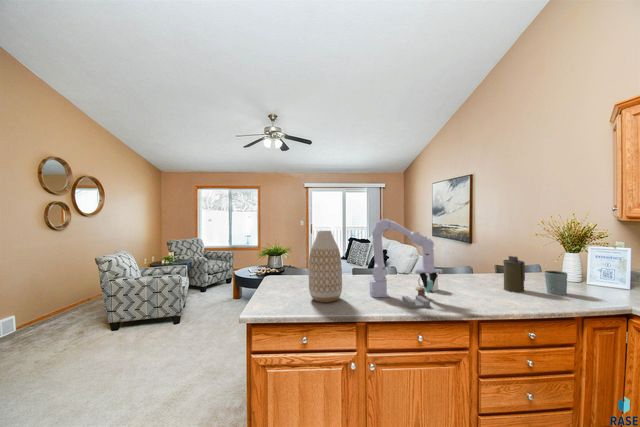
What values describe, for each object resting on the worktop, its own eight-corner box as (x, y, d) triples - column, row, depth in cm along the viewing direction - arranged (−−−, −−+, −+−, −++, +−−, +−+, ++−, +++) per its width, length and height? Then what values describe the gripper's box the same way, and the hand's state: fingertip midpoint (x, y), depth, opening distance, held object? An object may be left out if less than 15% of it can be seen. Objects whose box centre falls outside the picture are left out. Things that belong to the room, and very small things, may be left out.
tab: (430, 294, 149) (430, 282, 149) (424, 290, 156) (424, 279, 156) (435, 294, 150) (435, 282, 150) (429, 290, 157) (429, 279, 156)
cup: (440, 291, 172) (440, 274, 172) (420, 291, 172) (419, 274, 172) (435, 287, 180) (434, 271, 180) (415, 287, 180) (415, 271, 180)
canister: (499, 289, 174) (499, 256, 174) (510, 287, 178) (509, 254, 178) (518, 293, 164) (517, 258, 164) (529, 291, 168) (528, 257, 168)
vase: (340, 305, 149) (338, 232, 149) (305, 303, 153) (304, 232, 153) (344, 295, 167) (343, 229, 167) (313, 294, 171) (312, 230, 171)
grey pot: (568, 296, 157) (568, 274, 157) (544, 294, 163) (544, 272, 163) (567, 292, 165) (566, 271, 165) (544, 289, 171) (544, 269, 171)
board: (409, 308, 143) (409, 302, 143) (402, 302, 153) (402, 296, 153) (429, 307, 144) (429, 301, 144) (421, 301, 154) (421, 295, 154)
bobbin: (418, 299, 157) (418, 290, 157) (414, 296, 163) (413, 287, 163) (429, 299, 157) (428, 289, 157) (424, 295, 163) (424, 287, 163)
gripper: (418, 263, 150) (418, 289, 150) (444, 262, 151) (445, 288, 151) (412, 261, 157) (413, 286, 157) (438, 260, 158) (438, 285, 158)
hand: (428, 287), depth 154 cm, fingers closed on tab, 3 cm apart
